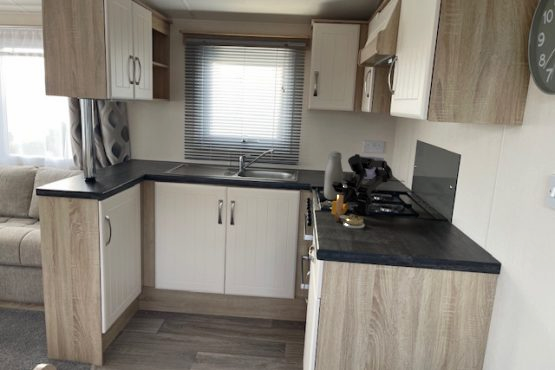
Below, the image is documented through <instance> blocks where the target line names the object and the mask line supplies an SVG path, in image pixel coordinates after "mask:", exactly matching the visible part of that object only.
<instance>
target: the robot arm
mask: <svg viewBox="0 0 555 370" xmlns="http://www.w3.org/2000/svg"><path fill="white" fill-rule="evenodd" d="M360 156H361V155H360V154H357V153H355V154H354V155H352V156H350V157H348V160H347V162H348V164H349V167H350V169H351V171H352V172H353V173H346V172H345V173H343V179H342V181H344V184H343V182H342V183H341V182H337V181H334V182H333V183H332V186H333V188H334V190H335V192H339V193H341V194H342V193H343V195H344V202H343V204H346V203H347V202H348V203H349V202H350V201H352V202H354V204H353V211H351V214H354V215H357V216H367V215H368V216H369V215H370V213H369V212H368V210H369V209H368V208H369V205H371V204H372V201H373V197H372V192H373V191H374V190H375V189H376V188H378V187H379V186H380V185H381V184H383V183H388V182H390V181H392V179H393V176H394V175H393V171H392V168H391V167H390V166H389V165H388V163H387V160H374V159H372V158H367V157H360ZM373 167H376V169H375V171H374V172H375V177H373V178H372V179H371V180H368V181H367V182H366V183H363V181H364V180H365V179H364V177H367V172H366V170H365V169H369V170H370V169H373ZM378 167H380V168H383V169H378Z"/></svg>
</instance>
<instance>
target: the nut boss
mask: <svg viewBox="0 0 555 370" xmlns="http://www.w3.org/2000/svg"><path fill="white" fill-rule="evenodd" d="M342 226H343V227H345V228H347V229H348V228H349V229H354V230H361V229H364V228H365V226H366V225H365V223H364V222H363V224H362V225H358V226H356V225H349V224H346V223H345V220H343V221H342Z"/></svg>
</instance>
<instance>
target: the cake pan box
mask: <svg viewBox="0 0 555 370" xmlns="http://www.w3.org/2000/svg"><path fill="white" fill-rule="evenodd" d="M360 157H367V158H372V159H374V160H384V157H379V156H370V155H360ZM375 169H376V167H373V169H370V170H369V169H365V170H366V172H367V177H364V179H363V180H369V179H372V178H373V177H375V172H374V171H375ZM378 169H383V170H384V168H380V167H378Z"/></svg>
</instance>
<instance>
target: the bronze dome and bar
mask: <svg viewBox="0 0 555 370" xmlns="http://www.w3.org/2000/svg"><path fill="white" fill-rule="evenodd" d="M335 201H336V213H335V215H334V221H336V222H343V219H344V221H345V223H346V224H349V225H356V226H358V225H362V224H363V223H364V218H365V217H364V215H357V216H356V214H355V213H350V214H349V215H345V214H342V213H343V202H344V193H343V194H342V193H341V194H337V200H335Z"/></svg>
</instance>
